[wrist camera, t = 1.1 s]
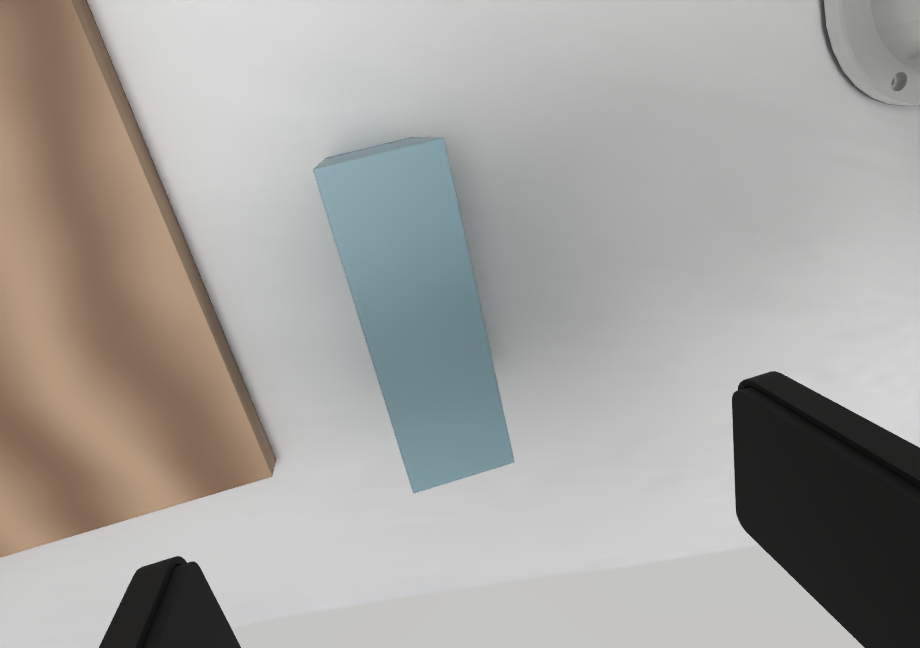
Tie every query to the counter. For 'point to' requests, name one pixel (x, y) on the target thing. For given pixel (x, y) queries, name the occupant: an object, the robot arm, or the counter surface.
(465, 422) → the book
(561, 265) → the counter surface
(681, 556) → the counter surface
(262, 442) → the shelf
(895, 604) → the robot arm
